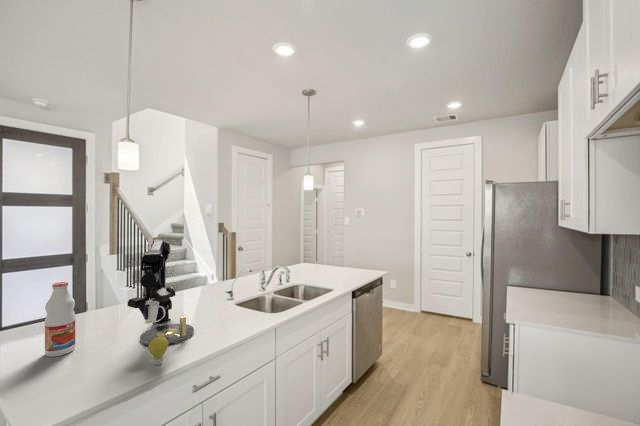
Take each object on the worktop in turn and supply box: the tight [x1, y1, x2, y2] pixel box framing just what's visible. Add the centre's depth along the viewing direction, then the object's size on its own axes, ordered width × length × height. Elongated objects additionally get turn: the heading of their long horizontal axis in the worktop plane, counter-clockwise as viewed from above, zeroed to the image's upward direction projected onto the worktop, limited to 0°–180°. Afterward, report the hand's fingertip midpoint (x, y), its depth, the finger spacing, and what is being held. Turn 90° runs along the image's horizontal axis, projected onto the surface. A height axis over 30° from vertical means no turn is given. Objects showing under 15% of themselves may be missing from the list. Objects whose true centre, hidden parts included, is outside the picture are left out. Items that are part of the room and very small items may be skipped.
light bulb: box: [147, 336, 169, 366], centre depth 113 cm, size 7×7×10 cm
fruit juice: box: [44, 281, 76, 358], centre depth 122 cm, size 9×9×28 cm
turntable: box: [139, 315, 195, 346], centre depth 138 cm, size 22×22×10 cm
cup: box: [142, 300, 165, 324], centre depth 130 cm, size 7×10×8 cm
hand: (152, 317), depth 130 cm, fingers closed on cup, 6 cm apart
